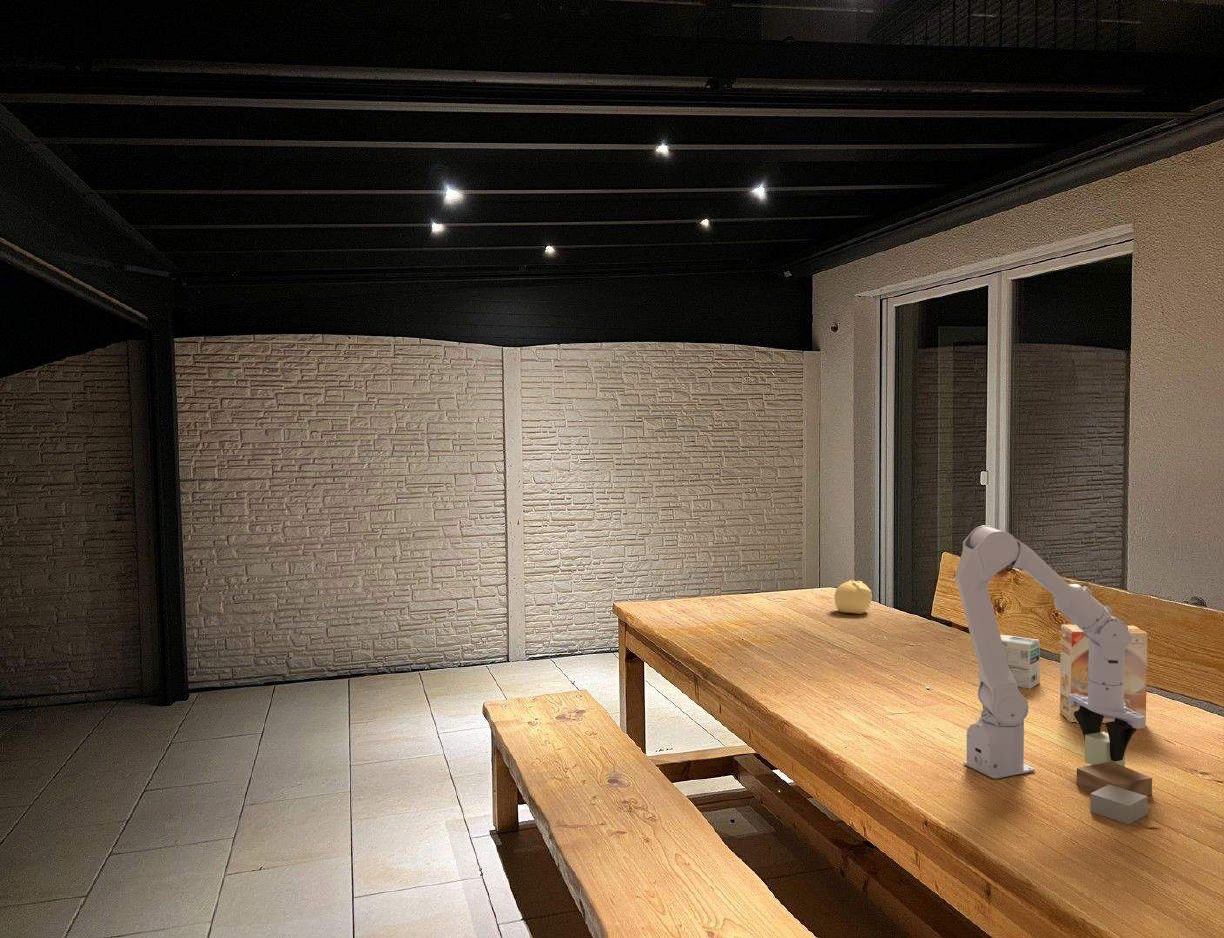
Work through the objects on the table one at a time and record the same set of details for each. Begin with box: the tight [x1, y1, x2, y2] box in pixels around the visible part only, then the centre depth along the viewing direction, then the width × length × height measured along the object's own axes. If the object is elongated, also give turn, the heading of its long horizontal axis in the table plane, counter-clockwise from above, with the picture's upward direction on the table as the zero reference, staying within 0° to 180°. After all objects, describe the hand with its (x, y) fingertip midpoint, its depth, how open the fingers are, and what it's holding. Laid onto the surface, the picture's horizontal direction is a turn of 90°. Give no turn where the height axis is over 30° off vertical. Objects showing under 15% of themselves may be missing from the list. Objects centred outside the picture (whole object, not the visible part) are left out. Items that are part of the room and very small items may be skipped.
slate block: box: [1089, 785, 1148, 826], centre depth 146 cm, size 6×6×3 cm
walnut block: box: [1076, 761, 1153, 797], centre depth 155 cm, size 8×8×3 cm
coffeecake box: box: [1059, 623, 1148, 726], centre depth 191 cm, size 15×7×20 cm, turn 82°
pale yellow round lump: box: [834, 579, 873, 615], centre depth 299 cm, size 11×12×11 cm
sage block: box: [1084, 731, 1126, 767], centre depth 163 cm, size 4×4×5 cm
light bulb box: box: [1000, 634, 1041, 689], centre depth 218 cm, size 11×7×11 cm, turn 47°
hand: (1104, 755), depth 163 cm, fingers closed on sage block, 4 cm apart
